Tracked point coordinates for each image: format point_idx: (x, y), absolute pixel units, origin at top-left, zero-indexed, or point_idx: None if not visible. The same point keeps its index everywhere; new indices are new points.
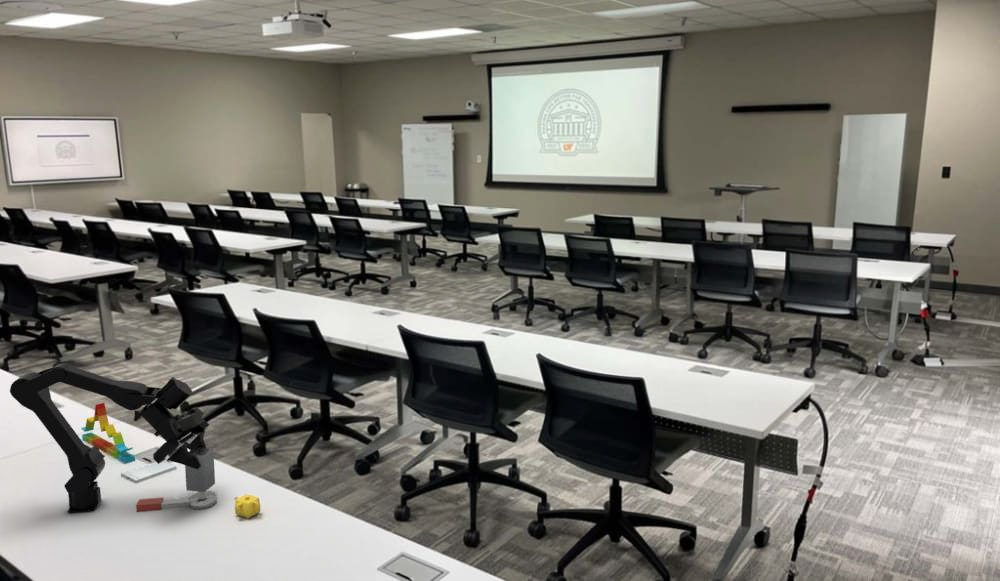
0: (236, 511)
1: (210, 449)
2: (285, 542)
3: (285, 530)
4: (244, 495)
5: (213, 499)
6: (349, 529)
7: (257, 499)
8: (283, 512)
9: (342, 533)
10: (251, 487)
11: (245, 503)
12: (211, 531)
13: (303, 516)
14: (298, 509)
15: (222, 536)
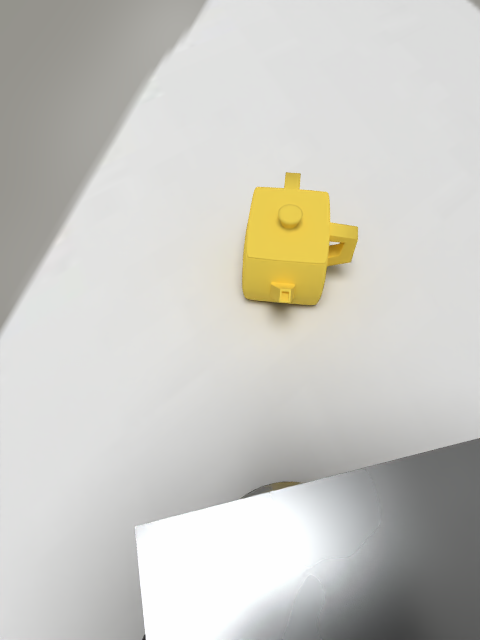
0: (351, 256)
1: (204, 547)
2: (376, 79)
3: (317, 111)
4: (263, 256)
5: (282, 482)
6: (233, 5)
7: (267, 188)
8: (211, 176)
9: (259, 8)
10: (16, 444)
11: (329, 204)
12: (472, 307)
13: (212, 115)
14: (172, 149)
15: (471, 245)
